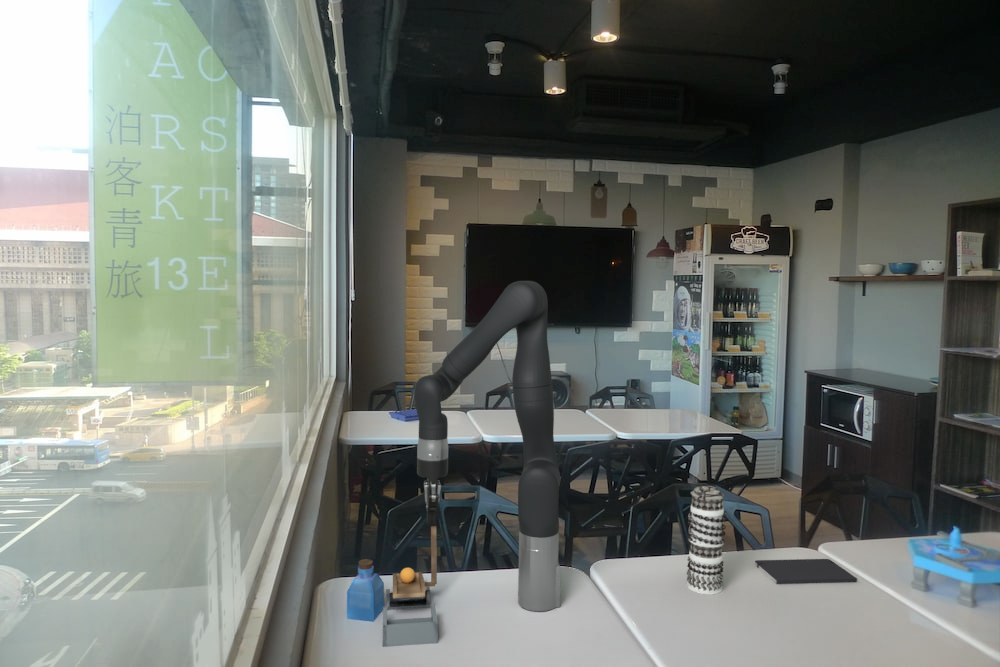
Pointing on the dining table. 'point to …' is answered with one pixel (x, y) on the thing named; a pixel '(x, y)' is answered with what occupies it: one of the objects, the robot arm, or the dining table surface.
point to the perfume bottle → (365, 594)
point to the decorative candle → (706, 540)
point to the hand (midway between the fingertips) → (431, 525)
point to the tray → (410, 630)
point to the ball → (407, 575)
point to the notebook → (804, 571)
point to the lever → (417, 576)
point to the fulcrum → (407, 601)
